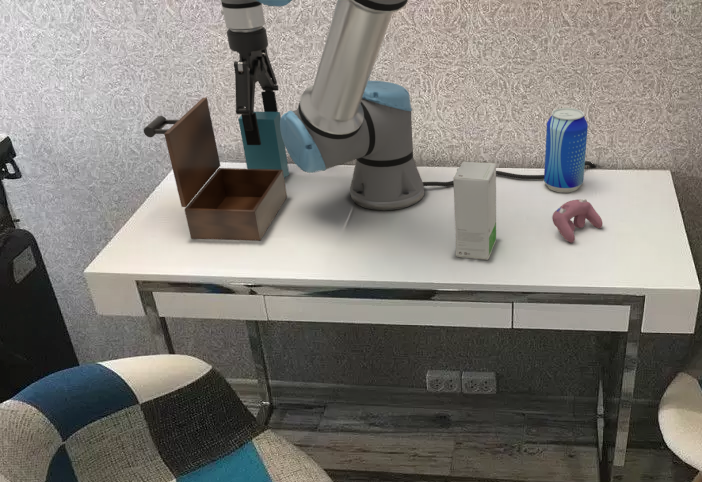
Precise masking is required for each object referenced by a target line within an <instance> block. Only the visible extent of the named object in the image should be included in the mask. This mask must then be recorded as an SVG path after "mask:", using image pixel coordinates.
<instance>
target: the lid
mask: <svg viewBox="0 0 702 482" xmlns="http://www.w3.org/2000/svg"><path fill="white" fill-rule="evenodd" d="M209 106H210V105H209V101H208V97H202V98H201V99H200V100H198V101H197V102H196V103H195V104H194V105H193V106H192V107H191V108H189V110H187V112H185V114H183V115H182V116H181V117H180V118H179V119H167V118H166V117H165V116H163V115H158V116H156V117H155V118H154V119H153V120H152V121H151V122H150V123H149V124H147V125H146V126H145V127H144V128H143V134H144V135H145V136H146V137H148V138H153V137H155V136H156V135H164V139H165V142H166V148H167V151H168V155H169V159H170V164H171V169H172V172H173V176H174V181H175V185H176V189H177V193H178V197H179V201H180V206H181V208H186V207H187V206H188V205H189V203H190V202H191V201H192V200H193V199H194V197H195V196H196V195H197V194H198V193H199V191H200V190H201V189H202V188H203V187H204V185H205V184H206V183H207V182H208V181H209V179H210V178H211V177H212V176H213V175H214V173H215V172H216V171H217V170H218V169H219V168H221V161H220V157H219V151H218V146H217V141H216V137H215V136H216V135H215V131H214V126H213V121H212V116H211V111H210V107H209ZM167 125H171V127H170V128H169V129H168V128H165V127H166V126H167ZM164 128H165V129H164Z"/></svg>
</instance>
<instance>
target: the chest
mask: <svg viewBox="0 0 702 482" xmlns="http://www.w3.org/2000/svg"><path fill="white" fill-rule="evenodd" d="M287 198H288V195H287V188H286V181H285V178H284V174H283V170H277V169H247V168H237V167H236V168H234V167H219V168H218V169H217V170H216V172H215V173H214V174H213V175H212V176H211V178H210V179H209V180H208V181H207V182H206V184H205V185H204V186H203V187H202V188H201V190H200V191H199V192H198V193H197V194H196V196H195V197H194V198H193V199H192V200H191V202H190V203H189V204H188V205H187V206H186V207H184V214H185V218H186V222H187V226H188V230H189V235H190V239H192V240H216V241H217V240H218V241H219V240H220V241H221V240H223V241H252V242H253V241H254V242H256V241H257V242H261V241H262V238H263V237H264V236H265V234H266V233H267V231H268V229H269V228H270V226H271V224H272V223H273V220H275V217H276V216H277V214H278V213H279V211H280V210H281V208H282V206H283V204H284V203H285V202H286V200H287Z"/></svg>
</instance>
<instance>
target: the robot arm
mask: <svg viewBox="0 0 702 482" xmlns="http://www.w3.org/2000/svg"><path fill="white" fill-rule="evenodd" d="M292 1H293V0H220V3H221V7H222V9H221V10H220V14H221V15H222V16H223V19H224V24H225V27H226V28H227V31H226V36H227V41H228V42H227V43H228V47H229V49H230V50H231V51H233V52H236V53H238V54H239V59H238V61H233V69H234V81H235V84H234V85H235V114H236V115H240V116H241V115H242V120H243V126H244V131H245V137H246V142H247V145H261V140H260V134H259V128H258V123H257V117H256V113H254V111H255V97H256V96H255V94H256V83H258V84H259V86H260V88H261V89H262V91H261V100H262V105H263V106H262V107H263V112H279V110H278V104H277V97H276V92H277V91H279V85H278V81H277V77H276V75H275V72H274V69H273V66H272V63H271V60H270V57H269V54H268V50H267V48H268V47H269V40H268V34H267V29H266V28H265V25H266V20H265V19H266V18H265V14H264V7H263V5H264V6H268V7H276V8H277V7H278V8H279V7H285V6H287V5H289V4H290V3H291V2H292ZM408 1H409V0H336V4H335V8H334V11H333V15H332V18H331V22H330V26H329V29H328V33H327V36H326V40H325V44H324V46H323V51H322V53H321V57H320V60H319V64H318V68H317V72H316V75H315V79H314V82H313V85H311V86H308V87H307V88H306V89H305V90H304V91H303V92H302V94H301V96H300V99H299V103H298V106H297V108H296V109H295V110H288V111H286V112H285V113H283V114H282V115H281V119H280V131H281V136H282V139H283V142H284V145H285V150H286V152H287V153H288V155H289V157H290V159H291V160H292V161H293V163H294V164H295V165H296V166H297V167H298V169H300V170H301V171H302V172H305V173H309V174H313V173H316V172H317V173H318V172H321V171H323V172H324V171H326V170H328V169H331V168H335V167H338V166H341V165H342V164H346V163H349V162H352V161H355V165H354V170H353V174H352V178H351V182H350V186H349V192H350V198H351V199H352V201H354V204H355V205H357V206H359V207H362V208H365V209H367V210H368V209H369V210H373V211H374V210H376V211H392V210H393V211H394V210H400V209H404V208H408V207H411V206H413V205H415V204H417V203H418V202H420V201H421V200H422V199H423V197H424V194H425V191H424V190H425V187H450V186H454V180H449V181H423V180H422V176H421V175H420V172H419V169H418V167H417V165H416V161H415V159H414V146H413V145H414V144H413V143H414V142H413V126H412V111H413V108H412V105H411V97H410V93H409V90H407V88H406V87H404V86H402V85H400V84H397V83H395V82H391V81H390V82H389V81H382V80H370V77H371V75H372V72H373V69H374V67H375V63H376V60H377V58H378V56H379V52H380V50H381V47H382V44H383V41H384V39H385V37H386V33H387V31H388V27H389V25H390V22H391V20H392V16H393V13H396V12H398V11H400V10H402V9H404V8H405V7H406V5H407V4H408ZM275 91H276V92H275ZM591 162H592V161H591V160H590V161H589V160H585V166H589V167H591V168H596V167H597V165H596V164H595V163H594V162H592V163H593V164H592V163H591ZM496 176H500V177H507V178H512V179H516V180H517V179H518V180H544V174H518V173H512V172H507V171H502V170H496Z"/></svg>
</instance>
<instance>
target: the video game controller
mask: <svg viewBox="0 0 702 482" xmlns="http://www.w3.org/2000/svg"><path fill="white" fill-rule="evenodd" d="M551 218H552V223H553V225H554V227H556V228H557V230H558V233H560V235H561V236H562V238H563V239H564V240H566V241H567V242H568V243H571V244H572V243H574V242H575V241H576V237H575V233H574V232H575V231H576V230H575V229H582V228H584V227H585V225H586V220H587V221H588V222H589V223H590V224H591V225H592V226H593V227H595V228H597V229H601V228H602V227H603V219H602V218H601V216H600V214H599V213H598V212H597V210H596V209H595V208H594V207H593V205H592V203H590V202H589V201H588V200H587V199H581V198H580V199H572V200H568V201H566V202H564V203H562V205H561V206H559V208H557V209H556V210H555V211H554V212H553V213H552V216H551ZM571 219H573V220H571Z"/></svg>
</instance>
